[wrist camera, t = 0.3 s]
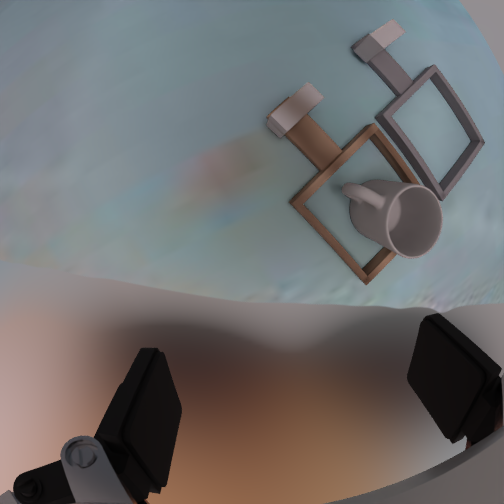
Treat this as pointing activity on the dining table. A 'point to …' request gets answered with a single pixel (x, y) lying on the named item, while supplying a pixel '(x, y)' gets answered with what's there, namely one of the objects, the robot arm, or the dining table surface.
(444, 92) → the grey frame with handle
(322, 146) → the brown frame with handle
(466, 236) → the dining table surface
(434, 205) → the mug
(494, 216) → the dining table surface
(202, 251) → the dining table surface
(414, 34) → the dining table surface
